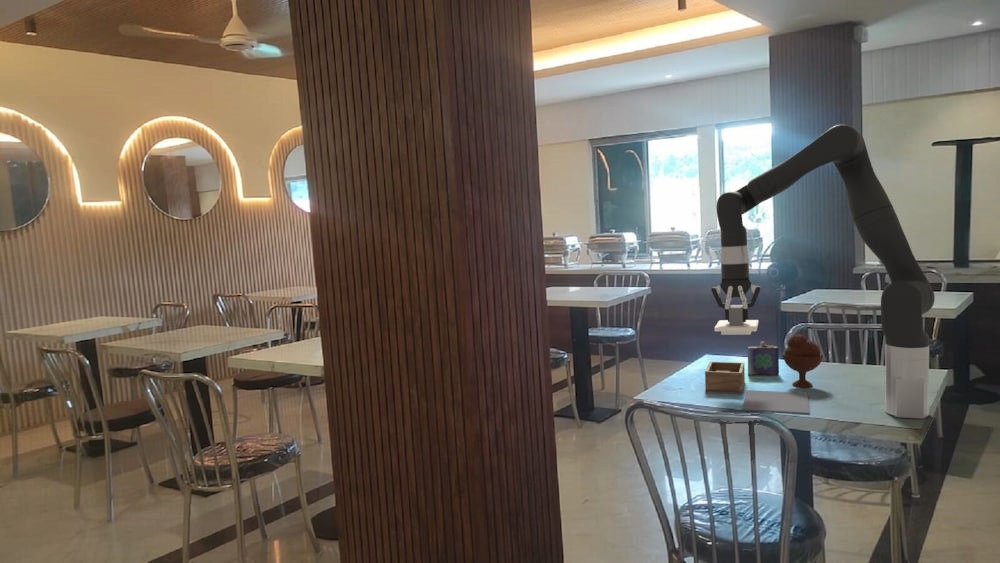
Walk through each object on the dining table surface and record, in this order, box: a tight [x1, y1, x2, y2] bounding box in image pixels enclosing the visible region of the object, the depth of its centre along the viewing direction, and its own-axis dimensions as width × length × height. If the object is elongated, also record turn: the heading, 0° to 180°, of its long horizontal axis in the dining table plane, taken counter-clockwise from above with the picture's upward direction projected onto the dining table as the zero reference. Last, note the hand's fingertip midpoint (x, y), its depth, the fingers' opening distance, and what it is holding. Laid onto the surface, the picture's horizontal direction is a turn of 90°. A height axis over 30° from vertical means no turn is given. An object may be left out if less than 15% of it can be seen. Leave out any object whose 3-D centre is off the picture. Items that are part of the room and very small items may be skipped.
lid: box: [714, 304, 759, 336], centre depth 194 cm, size 15×11×7 cm
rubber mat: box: [741, 389, 811, 415], centre depth 182 cm, size 20×16×1 cm
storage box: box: [704, 361, 746, 395], centre depth 200 cm, size 14×10×6 cm
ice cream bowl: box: [781, 333, 824, 389], centre depth 197 cm, size 11×11×15 cm
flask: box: [747, 340, 780, 377], centre depth 213 cm, size 9×3×11 cm, turn 76°
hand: (737, 321), depth 194 cm, fingers closed on lid, 3 cm apart
